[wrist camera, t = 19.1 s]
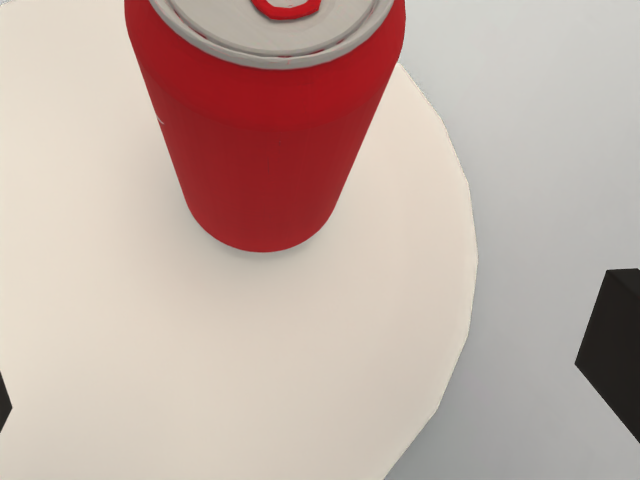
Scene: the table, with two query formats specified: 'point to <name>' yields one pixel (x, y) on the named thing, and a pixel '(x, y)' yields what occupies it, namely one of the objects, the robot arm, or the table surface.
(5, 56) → the plate
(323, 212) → the beverage can
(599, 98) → the table surface
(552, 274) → the table surface
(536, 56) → the table surface
